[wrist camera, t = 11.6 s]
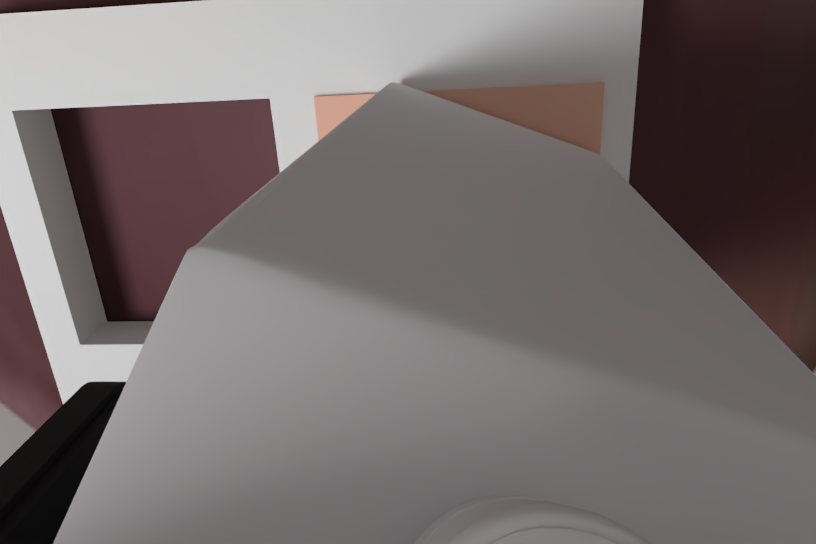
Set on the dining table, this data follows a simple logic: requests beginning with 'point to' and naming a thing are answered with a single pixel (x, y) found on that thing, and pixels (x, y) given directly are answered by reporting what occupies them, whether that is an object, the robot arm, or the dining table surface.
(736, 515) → the milk carton
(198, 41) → the board
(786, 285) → the dining table surface
